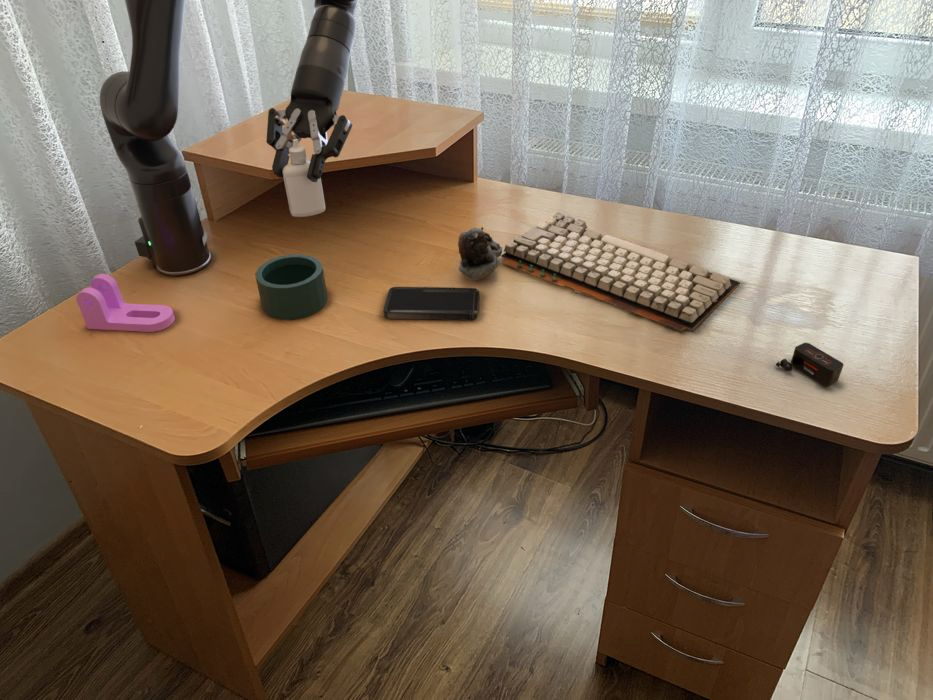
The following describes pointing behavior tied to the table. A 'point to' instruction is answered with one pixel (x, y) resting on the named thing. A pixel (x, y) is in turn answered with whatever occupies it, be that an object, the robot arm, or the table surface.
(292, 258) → the green short hollow cylinder
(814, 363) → the wireless earbuds
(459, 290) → the phone
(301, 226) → the table surface
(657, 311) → the mechanical keyboard
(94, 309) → the bracket
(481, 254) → the bison figurine
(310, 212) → the eye dropper bottle
